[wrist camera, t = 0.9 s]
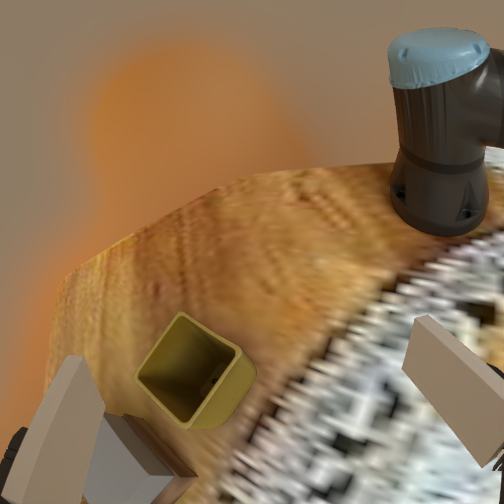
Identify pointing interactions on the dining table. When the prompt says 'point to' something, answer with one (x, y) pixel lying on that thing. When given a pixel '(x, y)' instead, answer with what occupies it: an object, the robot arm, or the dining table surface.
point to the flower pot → (195, 374)
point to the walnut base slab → (164, 462)
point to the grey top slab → (123, 467)
